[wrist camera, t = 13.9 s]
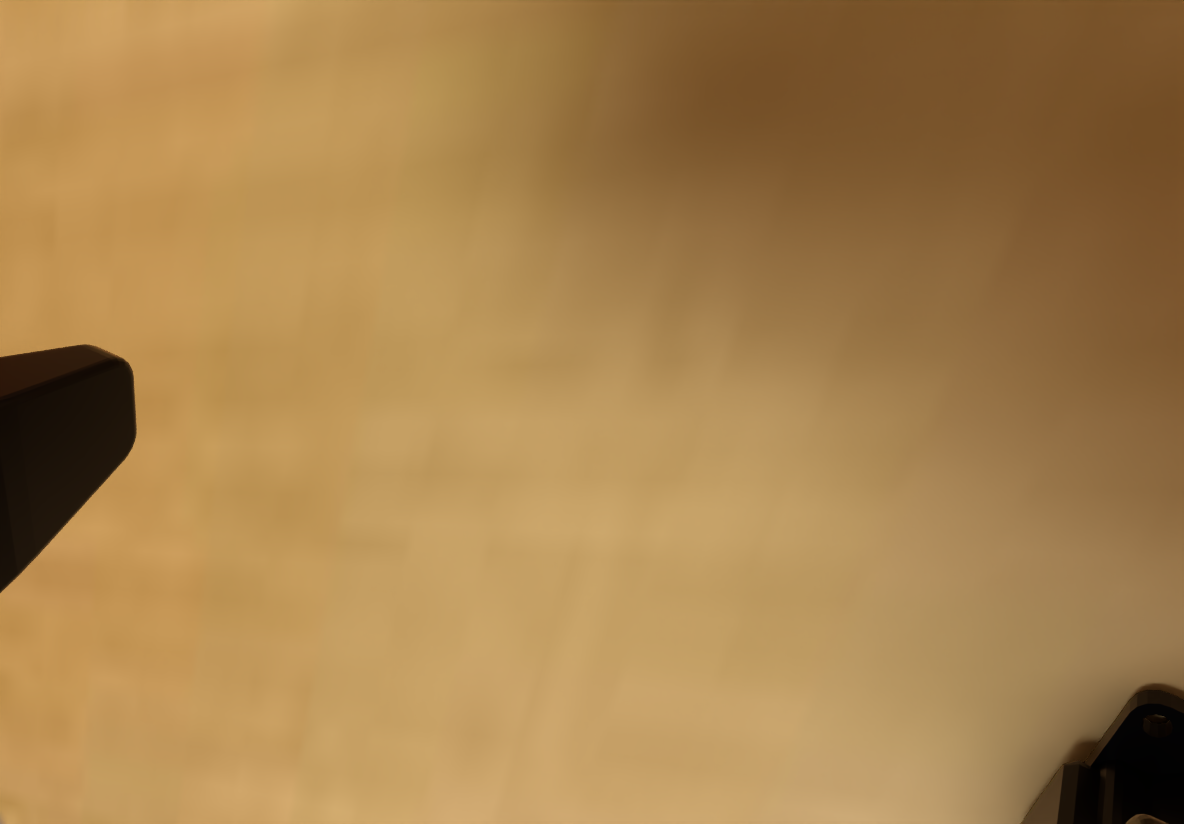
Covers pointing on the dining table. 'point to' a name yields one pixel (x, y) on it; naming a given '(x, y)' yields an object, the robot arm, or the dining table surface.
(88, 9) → the dining table surface
